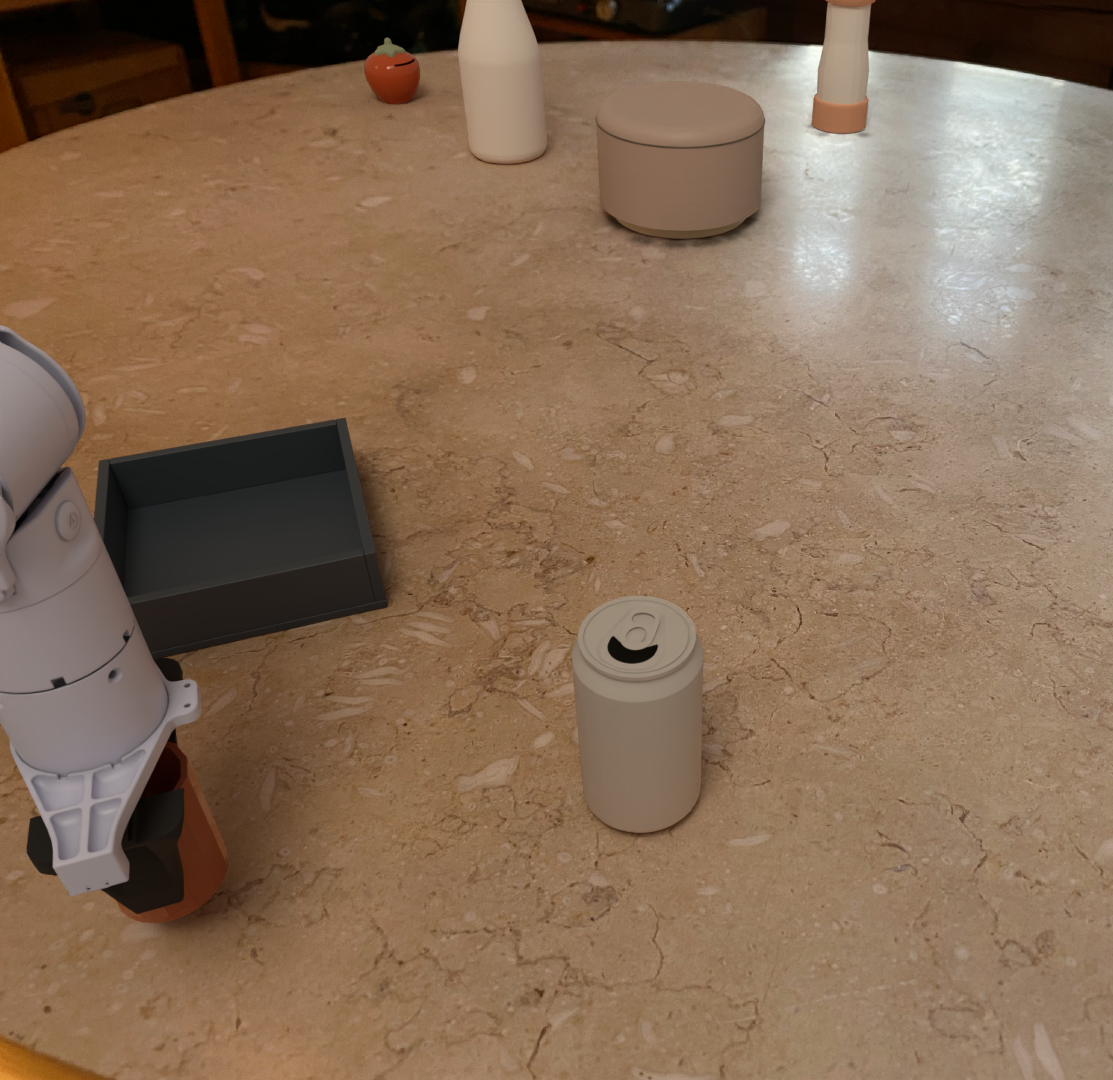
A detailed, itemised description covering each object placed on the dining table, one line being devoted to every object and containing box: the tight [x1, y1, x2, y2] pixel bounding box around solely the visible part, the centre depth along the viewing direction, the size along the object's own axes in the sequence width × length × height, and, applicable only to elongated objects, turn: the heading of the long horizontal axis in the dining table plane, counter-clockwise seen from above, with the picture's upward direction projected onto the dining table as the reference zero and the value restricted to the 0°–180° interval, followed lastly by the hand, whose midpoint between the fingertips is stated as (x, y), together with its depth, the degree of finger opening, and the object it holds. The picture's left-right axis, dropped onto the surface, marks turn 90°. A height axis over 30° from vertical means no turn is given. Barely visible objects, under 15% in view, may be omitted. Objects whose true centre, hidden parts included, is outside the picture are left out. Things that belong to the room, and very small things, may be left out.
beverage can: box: [571, 595, 705, 834], centre depth 56 cm, size 6×6×12 cm
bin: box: [93, 417, 389, 659], centre depth 73 cm, size 16×16×5 cm
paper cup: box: [112, 741, 229, 924], centre depth 50 cm, size 5×5×7 cm
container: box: [594, 80, 766, 240], centre depth 118 cm, size 18×18×12 cm
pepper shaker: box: [811, 0, 876, 134], centre depth 140 cm, size 7×7×19 cm
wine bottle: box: [457, 0, 548, 165], centre depth 126 cm, size 10×10×30 cm
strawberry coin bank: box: [363, 37, 421, 105], centre depth 148 cm, size 7×7×8 cm
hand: (159, 851), depth 50 cm, fingers closed on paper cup, 5 cm apart
